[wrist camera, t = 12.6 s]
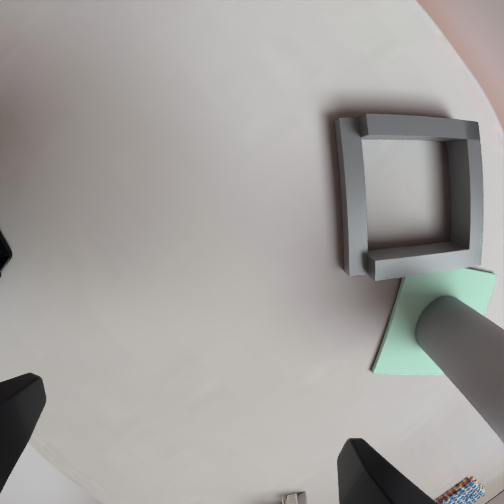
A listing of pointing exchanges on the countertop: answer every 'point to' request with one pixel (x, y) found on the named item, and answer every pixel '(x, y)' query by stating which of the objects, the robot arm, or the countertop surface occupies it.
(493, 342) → the capped gray cylinder
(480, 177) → the gray square frame
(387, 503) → the robot arm
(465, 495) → the woven mat
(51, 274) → the countertop surface
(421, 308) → the pad
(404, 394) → the countertop surface
